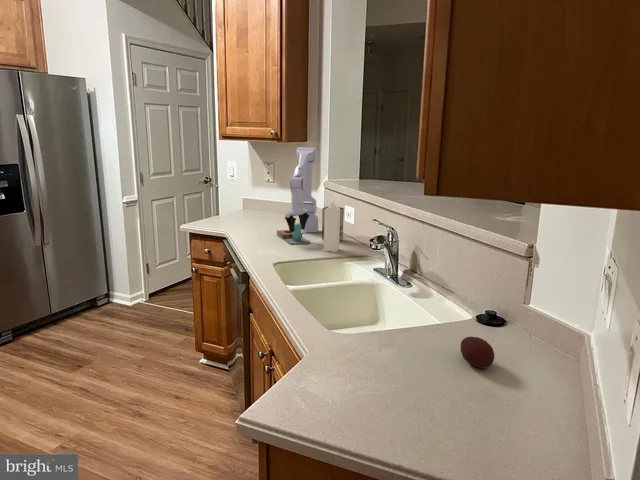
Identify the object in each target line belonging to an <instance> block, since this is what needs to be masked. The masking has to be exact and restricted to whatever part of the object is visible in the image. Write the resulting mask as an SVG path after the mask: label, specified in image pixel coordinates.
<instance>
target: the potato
mask: <svg viewBox="0 0 640 480" xmlns="http://www.w3.org/2000/svg"><path fill="white" fill-rule="evenodd" d="M459 351H460V352H461V356H462V358H463V359H464V360H465V361H466V362H467V363H468V364H470V365H471V364H472V366H473V365H474V366H473V367H475V366H477V367H476V368H478V367H481V368H480V369H487V368H489V367H490V366H491V365H492V364H493V363H494V361H495V352H494V350H493V347H492V346H491V344H489V343H488V341H487V340H485V339H483V338H482V337H481V338H480V337H478V336H477V337H476V336H467V337H464V338H463V339H461V341H460V350H459ZM486 367H487V368H486Z"/></svg>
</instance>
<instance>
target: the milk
mask: <svg viewBox="0 0 640 480" xmlns="http://www.w3.org/2000/svg"><path fill="white" fill-rule="evenodd" d="M339 234H340V208H339V207H338V206H337V205H336V204H335V201H332V202H331V203H330V206H328V208H326V209H325V210H324V240H323V252H328V251H331V253H337V252H338V251H339V249H340V241H339Z"/></svg>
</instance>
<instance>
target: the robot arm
mask: <svg viewBox="0 0 640 480" xmlns="http://www.w3.org/2000/svg"><path fill="white" fill-rule="evenodd" d="M295 155H296V159H297V161H298V164H297V166H296V167H295V169H294V171H293V176H292V177H290V179H289V187H290V193H291V196H290V198H291V199H290V200H291V201H290V202H291V209H290V210H289V211H288V212H286V213H284V215H285V217H284V219H285V221H286V223H287V225H288V230H290V231H291V232H294V225H295V223H296V220H297V218H296V217H297V216H298V219H299V223H300V224H301V233H302V234H307V233H318V232H319V217H318V215H317V211H318V210H317V208H318V207H317V200H316V199H315V197H313V196H312V189H313V187H312V186H313V167H314V165H316V164H317V161H318V149H317V148H316V147H300V146H298V147H297V148H296V153H295Z"/></svg>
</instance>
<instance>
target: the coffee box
mask: <svg viewBox="0 0 640 480" xmlns="http://www.w3.org/2000/svg"><path fill="white" fill-rule="evenodd" d="M328 207H329V206H324V207H322V209H321V211H322V212H321V213H322V215H321V216H322V217H321V218H322V219H321V220H322V221H321V222H322V225H321V226H322V227H321V228H322V229H321V240H322V241H324V210H325V209H326V208H328ZM339 208H340V234H339V242H341V241H344V216H345V215H344V214H345V213H344V208H345V207H339Z"/></svg>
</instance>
